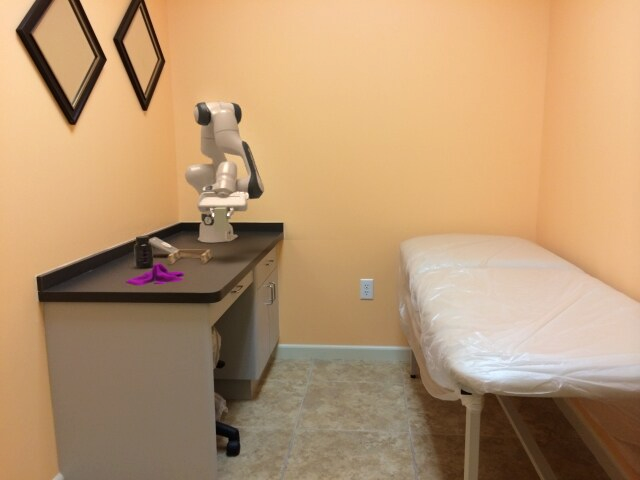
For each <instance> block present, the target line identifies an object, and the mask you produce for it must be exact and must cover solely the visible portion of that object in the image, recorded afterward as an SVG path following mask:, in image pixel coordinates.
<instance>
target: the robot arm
mask: <svg viewBox="0 0 640 480" xmlns="http://www.w3.org/2000/svg"><path fill="white" fill-rule="evenodd" d="M193 117H194V121H195V122H196V123H197V124H198V125H199V126H200V127H201V129H200V152H201V154H202V155H204V156H205V157H207V158H209V159H210V160H211V163H196V164H192V165H189V166H187V168H186V170H185V174H184V177H185V181H186V182H187V184H188V185H190V186H191V187H192V188H193V189H194V190H196V192H197V193H198V196H199V197H198V199H197V210H198V211H199V212H201V216H200V218H201V222H200V224H199V237H198V238H197V241H199V242H202V243H225V242H233V241H234V240H235V239H236V238H238V235H237V234H234V229H233V226H232V225H231V224H230V223H229V229H228V230H227V231H214V210H213V209H214V208H217V207H228V213H227V215H226V218H227V219H229V220H230V219H232V216H233V215H234V214H235V212H246V211H248V207H249V206H248V201H249V200H257V199H260V198H261V197H262V195H263V194H264V192H265V186H264V183H263V181H262V179H261V176H260V174H259V171H258V167H257V165H256V164H257V163H256V161H255V158H254V155H253V152H252V150H251V148H250V146H249V144H248V142H246V141H244V140H243V139H242V137H241V135H240V129H239V125H240V123H241V121H242V117H243V113H242V108H241V106H240V105H239V104H237V103H236V102H226V101H212V102H210V101H209V102H205V101H202V102H198V103H196V105H194V110H193ZM226 154H228V155H232V156H237V157H240V158H242V160H243V163H244V167H245V170H246V173H247V176H246V177H242V178H238V165H237V164H236V163H235V162H234V161H230V160H228V159H227V158H226Z"/></svg>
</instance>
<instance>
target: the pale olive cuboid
mask: <svg viewBox="0 0 640 480" xmlns="http://www.w3.org/2000/svg"><path fill="white" fill-rule="evenodd" d="M213 210H214V231H227V230H228V229H229V224H230V223H229V220H230V219H227V218H226V215H227V213H229V211H228V207H217V208H214V209H213Z"/></svg>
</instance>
